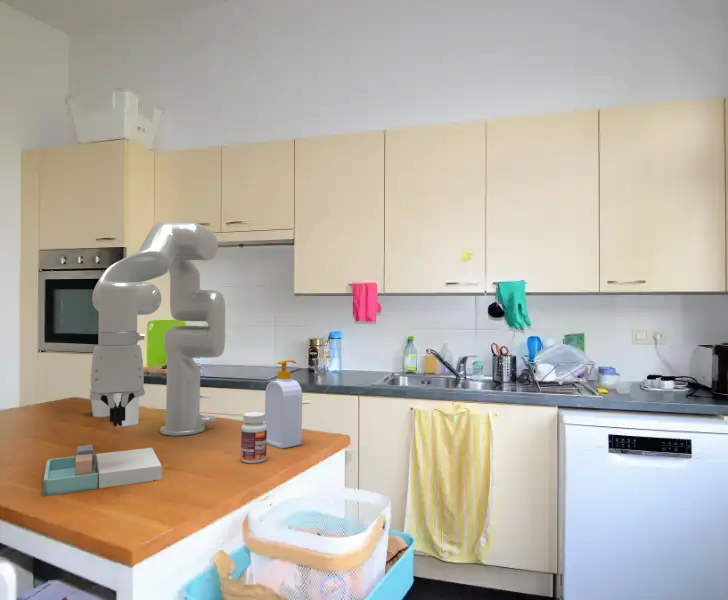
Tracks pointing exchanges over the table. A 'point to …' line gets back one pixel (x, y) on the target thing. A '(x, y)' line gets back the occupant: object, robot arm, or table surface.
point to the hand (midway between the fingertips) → (117, 424)
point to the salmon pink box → (83, 464)
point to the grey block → (85, 451)
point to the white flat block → (127, 467)
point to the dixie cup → (100, 408)
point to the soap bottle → (283, 410)
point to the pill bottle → (253, 438)
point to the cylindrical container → (129, 409)
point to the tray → (67, 477)
